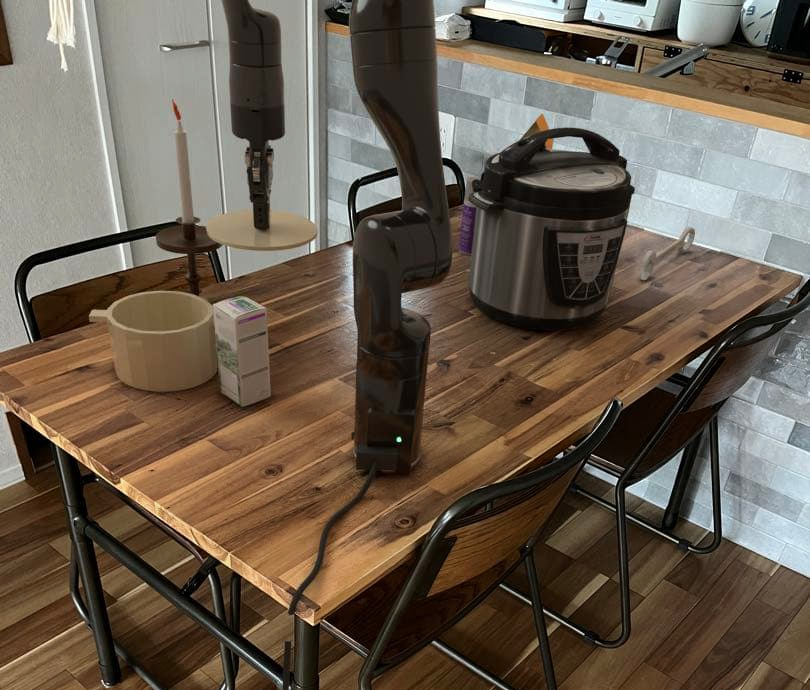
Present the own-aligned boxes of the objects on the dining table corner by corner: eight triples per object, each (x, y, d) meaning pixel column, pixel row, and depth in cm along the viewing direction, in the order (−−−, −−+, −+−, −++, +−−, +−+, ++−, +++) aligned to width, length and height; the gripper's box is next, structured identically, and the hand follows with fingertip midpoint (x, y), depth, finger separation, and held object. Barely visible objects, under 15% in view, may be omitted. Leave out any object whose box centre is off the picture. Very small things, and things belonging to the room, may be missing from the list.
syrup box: (272, 396, 129) (269, 306, 120) (240, 408, 125) (234, 316, 116) (250, 382, 132) (245, 293, 123) (218, 393, 128) (211, 302, 119)
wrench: (645, 284, 175) (652, 256, 172) (635, 282, 176) (642, 253, 173) (690, 250, 194) (698, 224, 190) (681, 248, 195) (689, 222, 191)
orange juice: (507, 204, 213) (519, 117, 200) (515, 194, 219) (527, 110, 207) (538, 209, 211) (551, 122, 199) (544, 199, 218) (558, 115, 205)
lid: (316, 257, 123) (316, 214, 120) (199, 252, 122) (195, 208, 118) (318, 219, 137) (318, 179, 133) (213, 215, 135) (210, 174, 131)
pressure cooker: (453, 330, 152) (474, 140, 132) (460, 272, 174) (479, 103, 154) (620, 347, 151) (666, 159, 131) (606, 287, 173) (643, 118, 153)
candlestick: (179, 336, 143) (154, 109, 121) (156, 311, 150) (129, 93, 128) (238, 324, 148) (225, 104, 126) (213, 301, 155) (196, 89, 133)
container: (456, 253, 183) (464, 180, 173) (461, 246, 186) (469, 175, 177) (477, 256, 182) (486, 184, 173) (482, 249, 185) (491, 178, 176)
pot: (229, 394, 128) (224, 336, 123) (87, 389, 127) (76, 330, 121) (239, 348, 141) (236, 293, 135) (110, 343, 139) (101, 287, 133)
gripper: (235, 87, 123) (241, 209, 133) (224, 108, 112) (232, 239, 122) (286, 90, 123) (289, 211, 134) (281, 111, 112) (284, 241, 123)
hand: (262, 224), depth 128 cm, fingers closed on lid, 2 cm apart
